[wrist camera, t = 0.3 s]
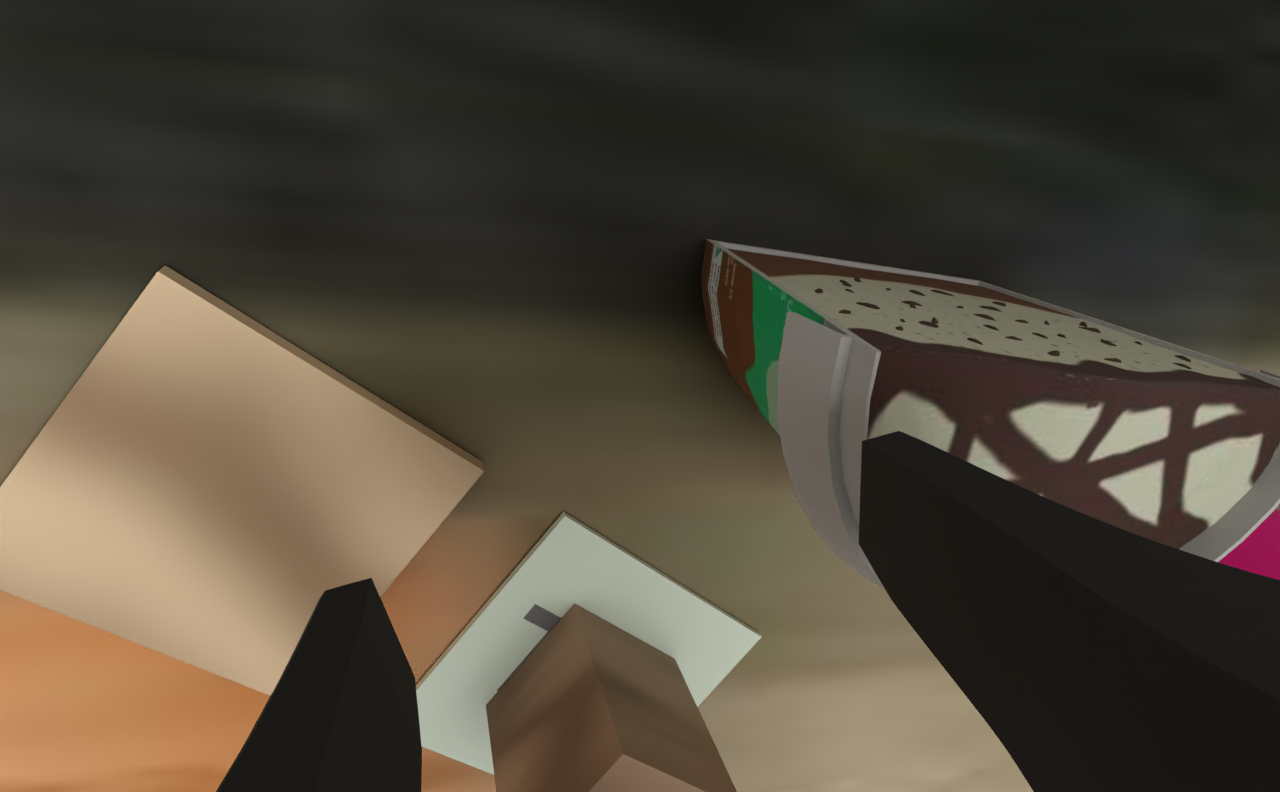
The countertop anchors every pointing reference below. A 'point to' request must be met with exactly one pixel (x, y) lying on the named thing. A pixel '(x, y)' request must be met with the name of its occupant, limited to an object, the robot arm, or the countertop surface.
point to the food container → (991, 396)
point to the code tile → (537, 600)
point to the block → (600, 718)
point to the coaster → (217, 488)
